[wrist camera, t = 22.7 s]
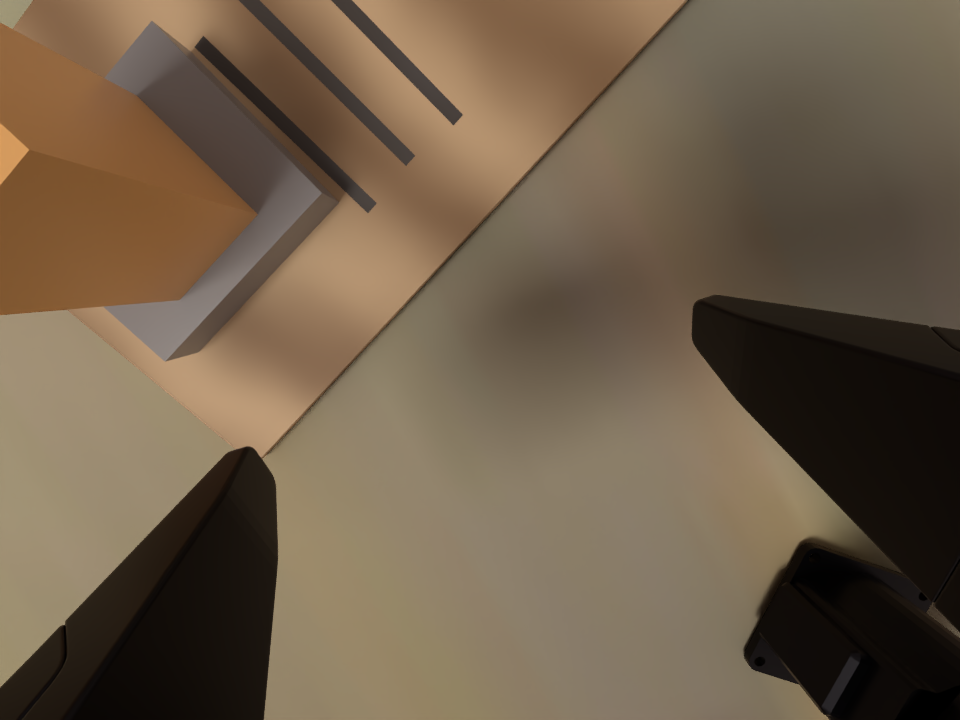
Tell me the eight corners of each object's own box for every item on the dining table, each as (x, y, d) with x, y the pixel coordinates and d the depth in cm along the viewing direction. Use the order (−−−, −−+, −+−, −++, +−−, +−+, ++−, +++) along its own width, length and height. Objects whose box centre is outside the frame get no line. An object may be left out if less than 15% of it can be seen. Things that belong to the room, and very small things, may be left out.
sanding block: (190, 51, 16) (-246, -294, 6) (339, 202, 17) (158, 104, 7) (49, 217, 17) (-521, 139, 7) (198, 352, 18) (-130, 443, 8)
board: (394, -443, 15) (388, -495, 14) (726, -41, 17) (741, -60, 16) (-63, 181, 18) (-94, 176, 17) (265, 455, 20) (254, 465, 19)
